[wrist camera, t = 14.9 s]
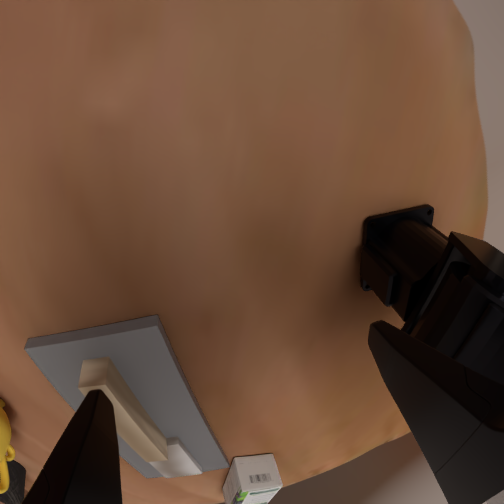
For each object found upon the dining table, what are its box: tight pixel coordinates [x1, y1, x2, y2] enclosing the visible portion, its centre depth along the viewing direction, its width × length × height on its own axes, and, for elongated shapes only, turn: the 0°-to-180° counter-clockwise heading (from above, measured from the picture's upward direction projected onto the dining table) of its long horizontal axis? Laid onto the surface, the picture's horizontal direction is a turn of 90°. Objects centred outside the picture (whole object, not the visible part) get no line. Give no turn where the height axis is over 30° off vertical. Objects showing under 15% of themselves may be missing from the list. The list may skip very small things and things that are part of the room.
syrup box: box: [222, 453, 283, 504], centre depth 39 cm, size 6×6×14 cm
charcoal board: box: [24, 315, 230, 478], centre depth 29 cm, size 12×28×1 cm, turn 8°
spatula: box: [78, 356, 202, 478], centre depth 27 cm, size 5×24×3 cm, turn 8°
